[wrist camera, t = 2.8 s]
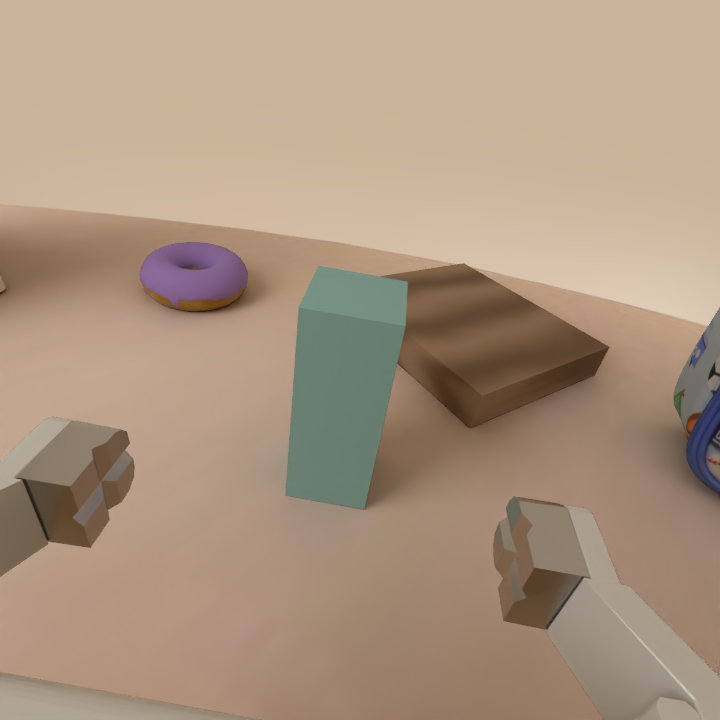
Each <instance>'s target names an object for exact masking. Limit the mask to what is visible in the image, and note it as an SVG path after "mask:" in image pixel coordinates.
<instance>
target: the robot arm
mask: <svg viewBox="0 0 720 720" xmlns="http://www.w3.org/2000/svg"><path fill="white" fill-rule="evenodd" d="M5 288H6V286H5V283H4V281H3V279H2V277H1V276H0V292H2V291H3V290H5ZM129 444H130V442H129V438H128V434H127V432H126V431H124V430H121V429H116V428H111V427H105V426H100V425H95V424H90V423H85V422H80V421H73V420H68V419H63V418H58V417H51V418H48V419H45V420H44V421H42V422H41V423H40V424H39V425H38V426H37V427H36V428H35V429H34V430H33V431H32V432H31V433H30V434H29V435H28V436H27V437H26V438H24V439H23V440H22V441H21V442H20V443H19V444H18V445H17V446H16V447H15V448H14V449H13V450H12V451H11V452H10V453H9V454H8V455H6V456H5V457H4V458H3V459H2V460H1V461H0V576H2V575H3V574H5V573H6V572H8V571H9V570H11V569H12V568H14V567H15V566H17V565H18V564H20V563H21V562H22V561H24V560H25V559H27V558H28V557H30V556H31V555H33V554H34V553H36V552H37V551H39V550H40V549H42V548H43V547H45V546H46V545H48V542H55V543H62V544H68V545H75V546H82V547H89V548H91V546H92V545H93V543H94V542H95V540H96V539H97V538H98V536H99V535H100V533H101V532H102V530H103V529H104V527H105V526H106V524H107V523H108V521H109V520H110V519H109V511H108V509H110V508H112V507H114V506H115V505H117V504H119V503H121V502H122V501H123V499H124V498H125V496H126V494H127V493H128V491H129V489H130V486H131V484H132V481H133V478H134V468H135V466H134V461H133V458H132V457H131V456H130V455H129V454H128V453H127V452H126V451H125V449H126V448H127V446H128V445H129ZM506 511H507V516H508V518H506V519H504V520H502V521H500V522H499V524H498V527H497V529H496V532H495V537H494V543H493V556H494V564H495V568H496V569H497V570H498V572H499V573H500V574H501V576H502V577H503V580H502V582H501V584H500V585H499V587H498V590H499V597H500V603H501V609H502V615H503V621H506V622H511V623H516V624H521V625H526V626H531V627H536V628H540V629H545V630H547V631H546V633H547V635H548V636H549V638H550V639H551V641H552V642H553V644H554V645H555V647H556V648H557V650H558V651H559V653H560V654H561V656H562V657H563V659H564V660H565V662H566V663H567V665H568V667H569V668H570V670H571V671H572V673H573V674H574V676H575V677H576V679H577V680H578V682H579V683H580V685H581V686H582V688H583V689H584V691H585V692H586V694H587V695H588V697H589V698H590V700H591V701H592V703H593V705H594V706H595V708H596V709H597V711H598V712H599V714H600V715H601V717H602V718H603V720H720V677H719V676H718V675H717V674H716V673H715V672H714V671H713V670H712V669H711V668H710V667H709V666H708V665H707V664H706V663H705V662H704V661H703V660H702V659H701V658H700V657H699V656H698V655H697V654H696V653H695V652H694V651H693V650H692V649H691V648H690V647H689V646H688V645H687V644H686V643H685V642H684V641H683V640H682V639H681V638H680V637H679V636H678V635H677V634H676V633H675V632H674V631H673V630H672V629H671V628H670V627H669V626H668V625H667V624H666V623H665V622H664V621H663V620H662V619H661V618H660V617H659V616H658V615H657V614H656V613H655V612H654V611H653V610H652V609H651V608H650V607H649V606H648V605H647V604H646V603H645V602H644V601H643V600H642V599H641V598H640V597H639V596H638V595H637V594H636V593H635V592H634V591H633V590H632V589H631V588H630V587H629V586H628V585H623V584H620V581H619V579H618V576H617V574H616V571H615V569H614V566H613V564H612V561H611V559H610V556H609V554H608V551H607V549H606V546H605V543H604V541H603V538H602V536H601V533H600V531H599V528H598V526H597V523H596V521H595V518H594V516H593V513H592V512H591V511H590V510H589V509H587V508H581V507H575V506H569V505H561V504H558V503H551V502H545V501H539V500H533V499H526V498H520V497H513V498H512V499H511V500H510V501H509V503H508V505H507V507H506ZM0 720H260V719H254V718H249V717H244V716H238V715H233V714H227V713H222V712H216V711H211V710H205V709H200V708H194V707H189V706H184V705H178V704H173V703H167V702H162V701H156V700H151V699H145V698H140V697H134V696H129V695H123V694H118V693H113V692H107V691H102V690H96V689H91V688H85V687H80V686H74V685H69V684H63V683H58V682H52V681H47V680H41V679H36V678H30V677H25V676H20V675H14V674H9V673H3V672H0Z"/></svg>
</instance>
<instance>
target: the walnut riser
mask: <svg viewBox="0 0 720 720" xmlns="http://www.w3.org/2000/svg"><path fill="white" fill-rule="evenodd" d="M380 277H384V278H389V279H395V280H401V281H407V282H408V289H407V309H406V327H405V331H404V336H403V340H402V345H401V349H400V353H399V358H398V362H397V363H398V364H399V365H400V366H401V367H402V368H404V369H405V370H406V371H407V372H408V373H409V374H410V375H411V376H413V377H414V378H415V379H416V380H417V381H418V382H419V383H420V384H421V385H423V386H424V387H425V388H426V389H427V390H428V391H429V392H430V393H432V394H433V395H434V396H435V397H436V398H437V399H438V400H439V401H441V402H442V403H443V404H444V405H445V406H446V407H447V408H448V409H449V410H451V411H452V412H453V413H454V414H455V415H456V416H457V417H458V418H460V419H461V420H462V421H463V422H464V423H465V424H466V425H467V426H469V427H470V428H471V427H474V426H476V425H479V424H481V423H483V422H486V421H488V420H490V419H493V418H495V417H497V416H500V415H502V414H504V413H507V412H509V411H511V410H514V409H516V408H518V407H521V406H523V405H525V404H528V403H530V402H532V401H535V400H537V399H539V398H542V397H544V396H546V395H549V394H551V393H553V392H556V391H558V390H560V389H563V388H565V387H567V386H570V385H572V384H574V383H577V382H579V381H581V380H584V379H586V378H589V377H591V376H593V375H595V373H596V371H597V369H598V368H599V366H600V364H601V362H602V360H603V358H604V356H605V354H606V353H607V351H608V349H609V347H608V346H607V345H605V344H603V343H602V342H600V341H598V340H596V339H595V338H593V337H591V336H589V335H588V334H586V333H584V332H582V331H581V330H579V329H577V328H575V327H574V326H572V325H570V324H568V323H567V322H565V321H563V320H561V319H560V318H558V317H556V316H554V315H553V314H551V313H549V312H547V311H546V310H544V309H542V308H540V307H539V306H537V305H535V304H533V303H532V302H530V301H528V300H527V299H525V298H523V297H521V296H520V295H518V294H516V293H514V292H513V291H511V290H509V289H507V288H506V287H504V286H502V285H500V284H499V283H497V282H495V281H493V280H492V279H490V278H488V277H486V276H485V275H483V274H481V273H479V272H478V271H476V270H474V269H472V268H471V267H469V266H467V265H465V264H457V265H451V266H444V267H438V268H432V269H425V270H419V271H412V272H406V273H399V274H393V275H387V276H380Z"/></svg>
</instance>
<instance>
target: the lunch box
mask: <svg viewBox="0 0 720 720" xmlns="http://www.w3.org/2000/svg"><path fill="white" fill-rule="evenodd" d="M674 405H675V408H676V410H677V412H678V414H679V416H680V419H681V421H682V424H683V426H684V429H685V431H686V435H687V439H688V442H687V450H686V452H687V461H688V463H689V466H690V468H691V469H692V471H693V472H694V474H695V475H696V476H697V477H698V478H699V479H700V480H701V481H702V482H703V483H705V484H706V485H707V486H709V487H710V488H712V489H714V490H715V491H717V492H719V493H720V308H719V310H718V311H717V313H716V314H715V316H714V318H713V319H712V321H711V323H710V324H709V326H708V327H707V329H706V330H705V332H704V333H703V335H702V337H701V338H700V340H699V342H698V343H697V345H696V347H695V348H694V350H693V352H692V353H691V355H690V357H689V359H688V361H687V363H686V364H685V366H684V368H683V371H682V373H681V375H680V377H679V379H678V382H677V384H676V387H675V392H674Z"/></svg>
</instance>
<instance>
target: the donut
mask: <svg viewBox="0 0 720 720" xmlns="http://www.w3.org/2000/svg"><path fill="white" fill-rule="evenodd" d="M247 278H248V273H247V269H246V267H245V264H244V263H243V261H242V260H241V259H240V258H239V257H238V256H237V255H236V254H235V253H233V252H231V251H230V250H228V249H226V248H223V247H220V246H217V245H212V244H208V243H197V242H187V243H177V244H171V245H168V246H164V247H162V248H160V249H158V250H155V251H154V252H152V253H151V254H150V255H149V256H148V257H147V258H146V259H145V261H144V262H143V264H142V266H141V270H140V280H141V283H142V285H143V287H144V290H145V292H146V293H147V294H149V295H150V296H151V297H153V298H154V299H155V300H156V301H158V302H159V303H161V304H163V305H165V306H168V307H171V308H174V309H178V310H184V311H206V310H213V309H217V308H220V307H223V306H226V305H229V304H230V303H232V302H233V301H235V300H236V299H238V298H239V297H240V295H241V294H242V293H243V291H244V290H245V288H246V285H247Z"/></svg>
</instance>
